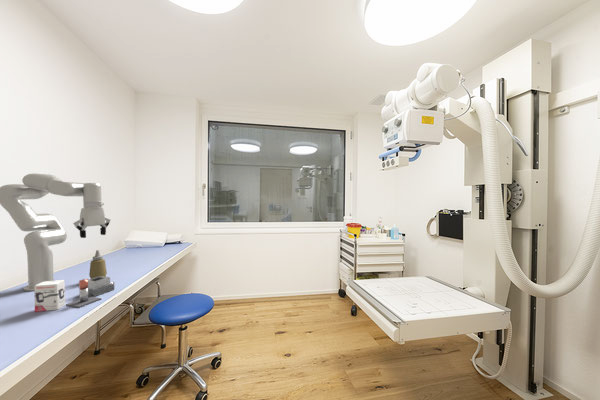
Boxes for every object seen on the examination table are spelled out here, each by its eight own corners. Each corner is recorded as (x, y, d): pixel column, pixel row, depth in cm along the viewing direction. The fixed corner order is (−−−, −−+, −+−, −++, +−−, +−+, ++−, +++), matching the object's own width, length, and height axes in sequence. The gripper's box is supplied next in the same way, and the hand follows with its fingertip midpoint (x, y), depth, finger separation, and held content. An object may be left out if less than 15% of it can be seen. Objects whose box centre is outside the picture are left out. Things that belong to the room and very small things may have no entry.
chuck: (79, 295, 119) (79, 281, 119) (106, 285, 131) (106, 273, 131) (93, 297, 116) (92, 283, 116) (119, 287, 128) (119, 274, 128)
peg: (78, 302, 110) (77, 281, 109) (85, 299, 112) (85, 278, 112) (82, 302, 109) (81, 281, 109) (90, 300, 112) (89, 279, 111)
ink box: (33, 312, 102) (33, 285, 101) (43, 307, 106) (42, 281, 106) (57, 309, 103) (56, 283, 103) (66, 304, 108) (65, 279, 108)
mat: (66, 305, 108) (65, 304, 108) (88, 297, 116) (88, 296, 116) (79, 308, 105) (79, 306, 105) (101, 299, 114) (101, 298, 114)
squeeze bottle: (109, 279, 142) (108, 249, 141) (92, 283, 135) (91, 252, 135) (104, 276, 146) (103, 248, 146) (87, 281, 139) (86, 251, 139)
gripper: (104, 204, 138) (105, 233, 139) (68, 206, 122) (69, 238, 122) (114, 204, 136) (114, 233, 137) (78, 206, 120) (79, 239, 120)
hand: (93, 236), depth 129 cm, fingers open, 9 cm apart
